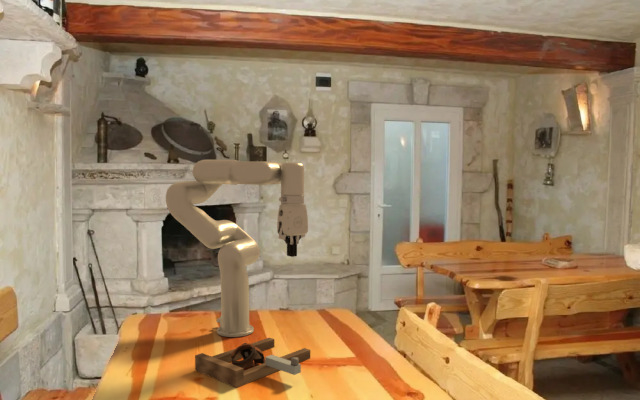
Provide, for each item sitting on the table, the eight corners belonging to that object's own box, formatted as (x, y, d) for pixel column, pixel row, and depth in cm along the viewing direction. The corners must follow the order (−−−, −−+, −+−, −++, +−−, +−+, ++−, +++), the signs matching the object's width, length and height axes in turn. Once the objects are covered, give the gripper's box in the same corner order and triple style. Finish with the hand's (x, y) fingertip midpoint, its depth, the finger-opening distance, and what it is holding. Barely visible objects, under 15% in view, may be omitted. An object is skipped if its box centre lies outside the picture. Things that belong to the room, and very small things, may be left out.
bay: (195, 370, 148) (195, 355, 148) (269, 345, 170) (269, 331, 169) (236, 387, 136) (236, 370, 136) (310, 358, 158) (310, 343, 158)
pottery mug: (273, 373, 147) (262, 352, 144) (243, 391, 145) (230, 370, 142) (261, 349, 158) (250, 329, 154) (232, 366, 156) (221, 346, 152)
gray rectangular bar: (265, 364, 145) (265, 351, 145) (271, 362, 147) (271, 349, 146) (294, 375, 138) (294, 360, 137) (300, 372, 139) (300, 358, 139)
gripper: (282, 201, 165) (282, 260, 166) (316, 200, 175) (316, 255, 177) (267, 200, 170) (266, 257, 171) (301, 199, 181) (300, 252, 182)
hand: (291, 255), depth 174 cm, fingers closed
